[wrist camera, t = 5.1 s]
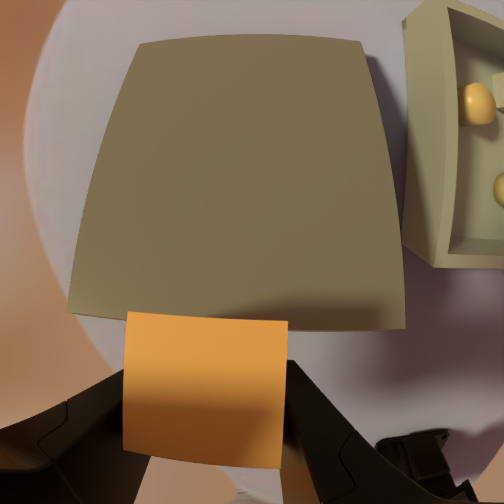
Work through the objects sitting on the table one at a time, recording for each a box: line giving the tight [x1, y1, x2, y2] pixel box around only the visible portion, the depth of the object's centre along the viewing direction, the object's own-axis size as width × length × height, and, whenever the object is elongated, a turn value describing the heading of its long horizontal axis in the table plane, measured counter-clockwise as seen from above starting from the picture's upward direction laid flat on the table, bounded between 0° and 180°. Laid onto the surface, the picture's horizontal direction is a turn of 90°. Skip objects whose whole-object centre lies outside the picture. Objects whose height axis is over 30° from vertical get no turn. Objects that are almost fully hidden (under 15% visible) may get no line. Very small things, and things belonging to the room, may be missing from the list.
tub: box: [401, 0, 504, 269], centre depth 12 cm, size 12×10×4 cm
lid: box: [67, 34, 406, 469], centre depth 9 cm, size 15×10×5 cm
